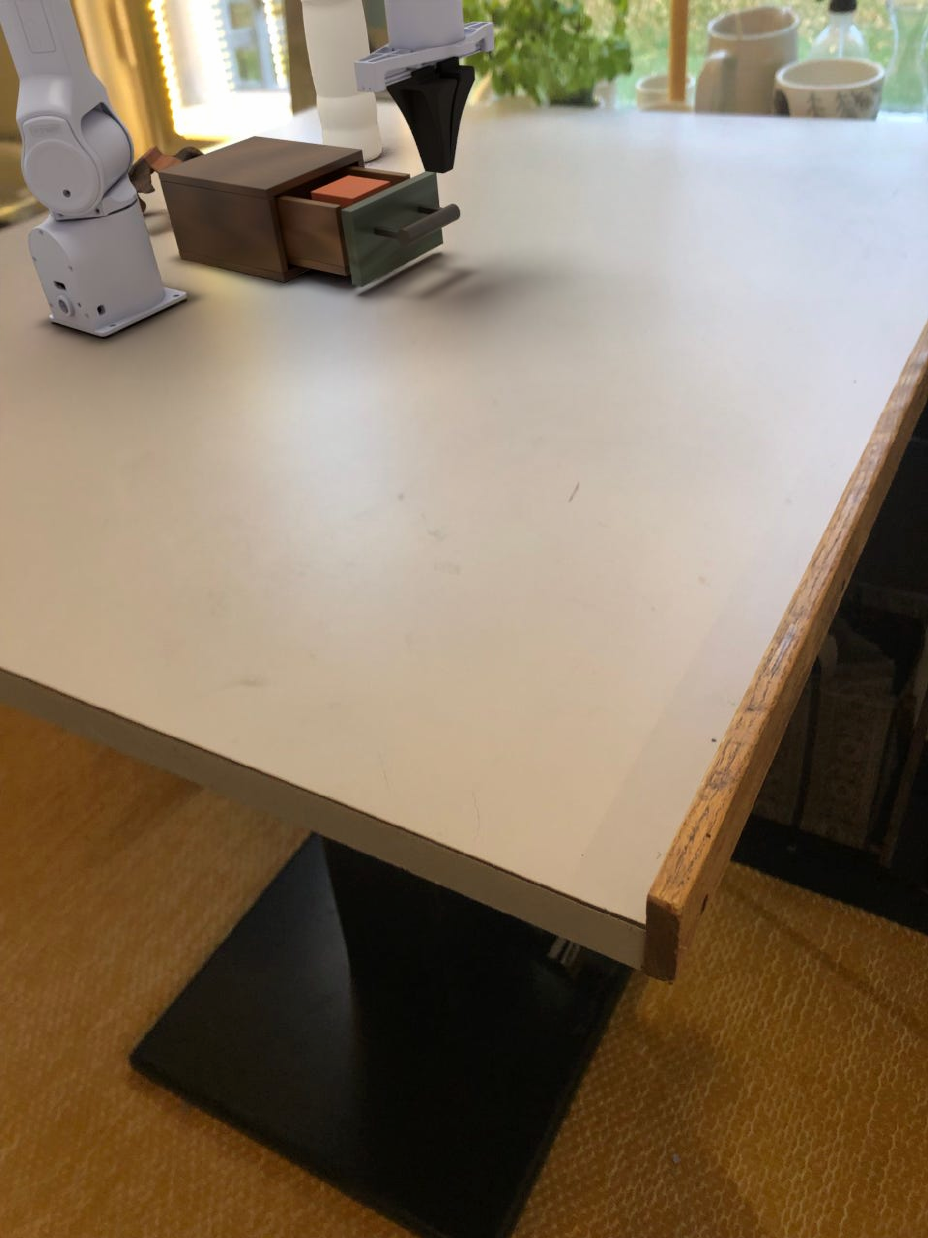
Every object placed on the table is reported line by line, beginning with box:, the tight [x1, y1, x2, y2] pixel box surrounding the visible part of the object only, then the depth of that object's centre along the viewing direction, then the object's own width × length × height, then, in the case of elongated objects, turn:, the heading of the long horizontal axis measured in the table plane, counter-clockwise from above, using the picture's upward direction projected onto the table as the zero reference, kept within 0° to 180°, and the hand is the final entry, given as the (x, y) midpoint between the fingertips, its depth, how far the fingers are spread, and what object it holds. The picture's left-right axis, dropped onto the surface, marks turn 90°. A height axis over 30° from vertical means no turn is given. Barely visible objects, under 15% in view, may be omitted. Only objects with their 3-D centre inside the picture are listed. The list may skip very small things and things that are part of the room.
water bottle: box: [300, 0, 383, 163], centre depth 111 cm, size 7×7×25 cm
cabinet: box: [157, 135, 366, 283], centre depth 94 cm, size 15×13×8 cm
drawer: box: [273, 165, 461, 288], centre depth 88 cm, size 18×11×6 cm, turn 53°
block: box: [311, 176, 390, 209], centre depth 88 cm, size 5×5×5 cm
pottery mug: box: [128, 145, 205, 214], centre depth 105 cm, size 12×10×8 cm
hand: (438, 169), depth 79 cm, fingers closed
